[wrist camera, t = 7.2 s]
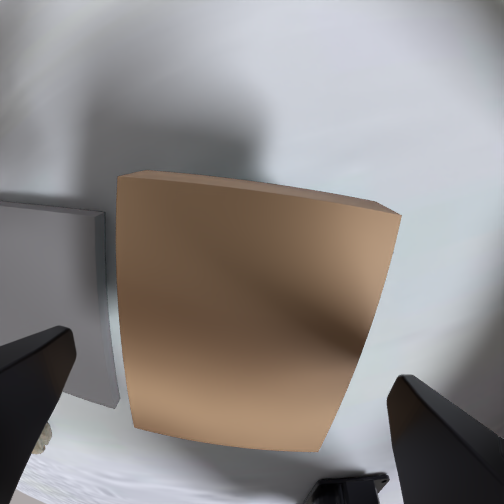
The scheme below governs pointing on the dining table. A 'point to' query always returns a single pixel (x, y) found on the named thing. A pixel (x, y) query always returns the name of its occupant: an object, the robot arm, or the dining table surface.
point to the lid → (244, 305)
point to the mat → (59, 288)
